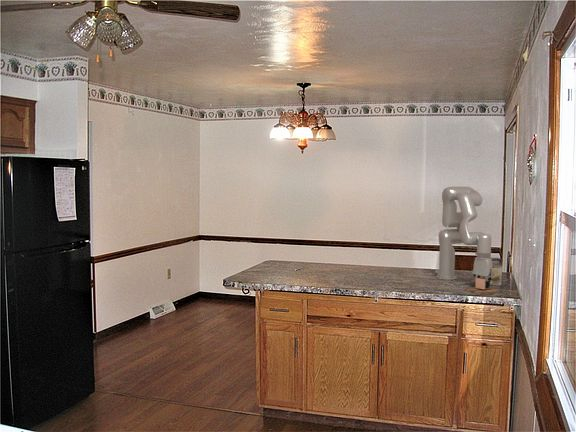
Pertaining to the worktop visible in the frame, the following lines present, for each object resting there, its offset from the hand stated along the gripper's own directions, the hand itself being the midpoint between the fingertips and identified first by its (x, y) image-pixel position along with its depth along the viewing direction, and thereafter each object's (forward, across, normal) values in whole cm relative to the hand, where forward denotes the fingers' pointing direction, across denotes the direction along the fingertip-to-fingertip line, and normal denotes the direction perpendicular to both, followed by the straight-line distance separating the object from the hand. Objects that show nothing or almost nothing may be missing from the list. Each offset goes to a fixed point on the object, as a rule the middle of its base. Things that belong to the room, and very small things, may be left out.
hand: (482, 286), depth 319 cm
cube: (+1, 0, 0) cm, 1 cm away
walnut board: (+3, 0, 0) cm, 3 cm away
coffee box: (+3, -9, +22) cm, 24 cm away
